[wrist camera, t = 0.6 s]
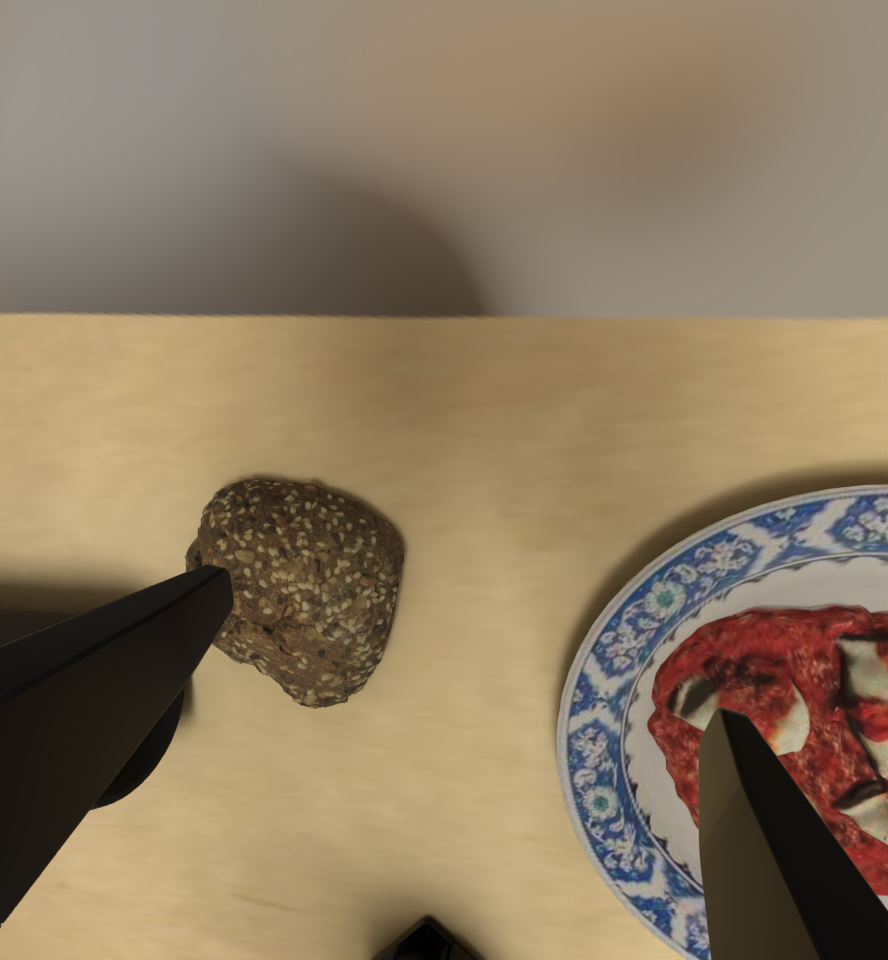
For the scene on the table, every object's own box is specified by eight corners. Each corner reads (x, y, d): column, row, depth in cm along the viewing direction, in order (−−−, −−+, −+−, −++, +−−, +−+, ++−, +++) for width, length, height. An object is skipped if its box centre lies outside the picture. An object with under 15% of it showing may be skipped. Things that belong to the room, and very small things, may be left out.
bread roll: (437, 535, 27) (408, 568, 22) (358, 718, 30) (318, 781, 26) (229, 434, 29) (162, 445, 24) (175, 617, 32) (107, 659, 28)
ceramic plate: (604, 962, 30) (607, 1024, 27) (513, 524, 26) (505, 542, 23) (1221, 1006, 23) (1313, 1097, 20) (1211, 417, 19) (1323, 424, 16)
